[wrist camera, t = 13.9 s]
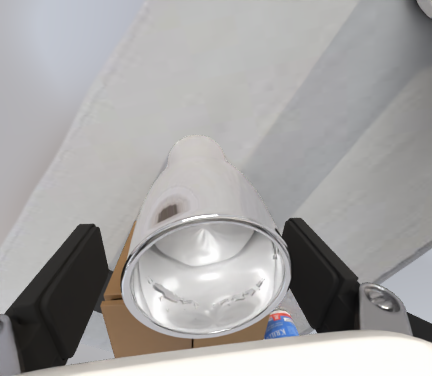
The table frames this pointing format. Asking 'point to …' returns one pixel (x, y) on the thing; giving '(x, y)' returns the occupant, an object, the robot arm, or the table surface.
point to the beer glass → (204, 249)
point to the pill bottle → (280, 325)
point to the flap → (236, 335)
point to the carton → (132, 321)
